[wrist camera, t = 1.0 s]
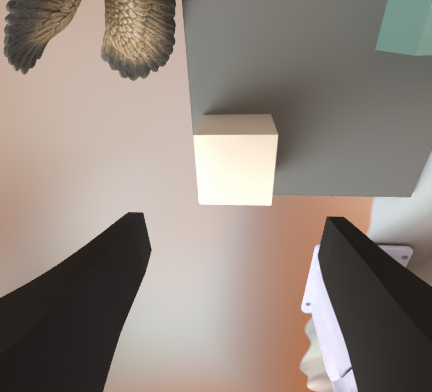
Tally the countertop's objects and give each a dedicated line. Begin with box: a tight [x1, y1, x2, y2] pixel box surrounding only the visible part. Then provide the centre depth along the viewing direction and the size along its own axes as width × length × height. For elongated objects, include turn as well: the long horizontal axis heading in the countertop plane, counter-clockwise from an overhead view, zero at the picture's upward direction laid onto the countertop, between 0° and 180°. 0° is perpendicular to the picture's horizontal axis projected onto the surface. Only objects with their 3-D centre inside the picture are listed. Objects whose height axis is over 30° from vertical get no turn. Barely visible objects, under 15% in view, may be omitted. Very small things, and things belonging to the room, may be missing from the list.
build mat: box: [182, 0, 432, 197], centre depth 15 cm, size 18×16×1 cm
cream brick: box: [193, 114, 278, 205], centre depth 17 cm, size 4×4×4 cm
